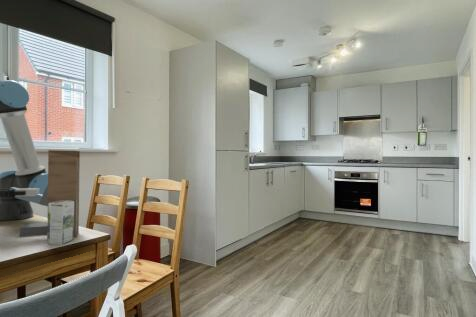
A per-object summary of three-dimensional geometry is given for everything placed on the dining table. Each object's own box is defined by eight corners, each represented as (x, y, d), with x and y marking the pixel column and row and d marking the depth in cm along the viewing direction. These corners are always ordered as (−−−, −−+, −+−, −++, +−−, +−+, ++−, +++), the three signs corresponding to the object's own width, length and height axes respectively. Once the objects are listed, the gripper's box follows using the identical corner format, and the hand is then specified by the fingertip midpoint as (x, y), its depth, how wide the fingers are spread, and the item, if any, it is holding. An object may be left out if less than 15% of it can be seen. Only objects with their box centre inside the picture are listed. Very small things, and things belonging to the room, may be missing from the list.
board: (25, 231, 115) (25, 223, 115) (65, 228, 121) (65, 221, 121) (19, 235, 109) (19, 227, 109) (62, 232, 114) (62, 225, 114)
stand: (52, 234, 111) (53, 150, 111) (78, 232, 114) (79, 151, 115) (47, 240, 104) (48, 150, 104) (75, 237, 107) (76, 150, 107)
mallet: (6, 195, 107) (15, 175, 108) (10, 194, 111) (19, 175, 113) (55, 208, 113) (63, 189, 114) (58, 206, 117) (65, 188, 118)
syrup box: (59, 239, 105) (59, 199, 105) (74, 240, 104) (74, 200, 104) (46, 244, 99) (47, 202, 99) (62, 245, 98) (63, 202, 98)
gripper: (-29, 200, 112) (42, 199, 120) (-53, 207, 97) (31, 204, 105) (-28, 181, 112) (43, 181, 121) (-52, 184, 97) (31, 184, 105)
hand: (37, 192), depth 113 cm, fingers closed on mallet, 3 cm apart
